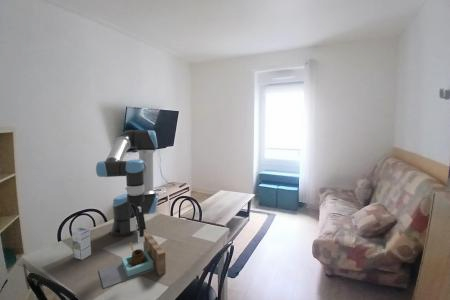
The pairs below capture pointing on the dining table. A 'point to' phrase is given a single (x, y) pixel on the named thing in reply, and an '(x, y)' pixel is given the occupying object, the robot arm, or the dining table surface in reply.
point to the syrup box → (81, 243)
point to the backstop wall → (155, 253)
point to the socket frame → (138, 268)
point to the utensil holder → (137, 256)
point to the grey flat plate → (117, 274)
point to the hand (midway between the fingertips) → (137, 236)
